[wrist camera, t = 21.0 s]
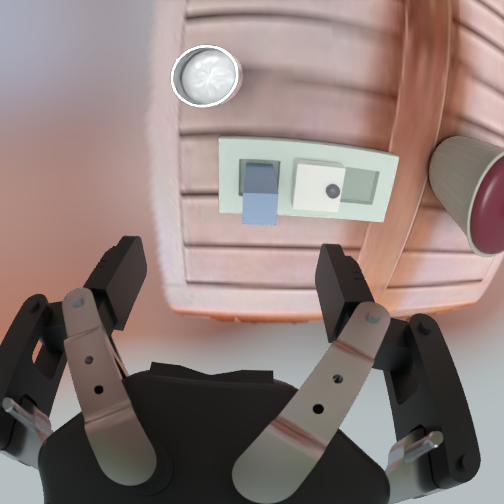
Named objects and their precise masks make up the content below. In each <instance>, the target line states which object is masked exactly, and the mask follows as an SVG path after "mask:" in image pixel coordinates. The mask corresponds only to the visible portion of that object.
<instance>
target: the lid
mask: <svg viewBox="0 0 504 504" xmlns="http://www.w3.org/2000/svg"><path fill="white" fill-rule="evenodd" d="M345 171H346V168H345V167H344V166H343V165H342V164H340V163H331V162H322V161H312V160H301V159H295V167H294V176H293V186H292V195H291V205H292V209H297V210H313V211H327V212H338V208H339V203H340V198H341V193H342V188H343V182H344V176H345Z"/></svg>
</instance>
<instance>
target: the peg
mask: <svg viewBox="0 0 504 504" xmlns="http://www.w3.org/2000/svg"><path fill="white" fill-rule="evenodd" d="M278 195H279V194H278V189H277V184H276V179H275V174H274V169H273V165H272V164H266V163H246V167H245V176H244V186H243V211H242V224H258V225H276V220H277V208H278Z"/></svg>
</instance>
